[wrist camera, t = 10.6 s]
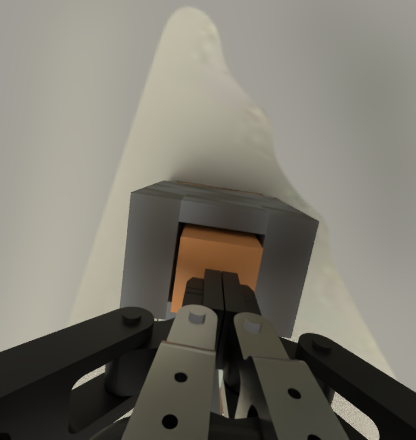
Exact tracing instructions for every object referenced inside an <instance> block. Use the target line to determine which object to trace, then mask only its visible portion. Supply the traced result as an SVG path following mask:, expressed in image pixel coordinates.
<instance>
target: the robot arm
mask: <svg viewBox="0 0 416 440" xmlns="http://www.w3.org/2000/svg"><path fill="white" fill-rule="evenodd" d="M105 364H106V365H105ZM103 365H105V372H104V373H102V374H100V375H99V376H97V377H95V378H93V379H91V380H90V381H88V382H86V383H84V384H82V385H80V386H79V387H77V388H75V389H73V390H72V388H73V386H74V385H75V383H76V382H77V381H78V380H79V379H80V378H81V377H83V376H84V375H86V374H88V373H90V372H92V371H94V370H95V369H97V368H99V367H101V366H103ZM214 366H215V369H219V370H223V377H222V383H221V397H222V405H223V413H224V416H222V415H219V414H216V413H214V412H211V411H210V410H211V399H212V388H213V377H214ZM335 391H336V392H337V393H338V394H340V395H341V396H342V397H344V398H345V399H346V400H347V401H349V402H350V403H351V404H353V405H354V406H355V407H357V408H358V409H359V410H360V411H362V412H363V413H364V414H366V415H367V416H368V417H369V418H371V420H372V421H373V422H374V423H375V425H376V426H377V428H378V431H379V435H380V438H379V440H416V392H414V391H412V390H411V389H409V388H407V387H406V386H404V385H403V384H401V383H400V382H398V381H396V380H395V379H393V378H392V377H390V376H388V375H387V374H385V373H384V372H382V371H380V370H379V369H377V368H375V367H374V366H372V365H371V364H369V363H367V362H366V361H364V360H363V359H361V358H359V357H358V356H356V355H355V354H353V353H351V352H350V351H348V350H347V349H345V348H343V347H342V346H340V345H339V344H337V343H335V342H334V341H332V340H330V339H329V338H327V337H324V336H322V335H318V334H314V333H305V334H302V335H301V336H300V337H299V341H298V343H295V342H292V341H289V340H287V339H284V338H281V337H279V336H278V334H277V332H276V330H275V328H274V326H273V325H272V323H271V322H270V321H269V320H268V319H266V318H264V317H263V316H262V315H261V312H260V308H259V305H258V304H257V299H256V296H255V293H254V291H253V290H252V289H251V288H250V287H249V286H248V285H243V284H240V282H239V278H238V274H237V273H233V272H226V271H222V272H221V271H219V270H213V269H206V268H205V272H204V279H203V278H196V277H192V278H191V279H189V280H188V281H187V283H186V288H185V293H184V298H183V302H182V307H181V308H180V309H179V310H178V312H177V314H176V317H174V318H172V319H169V320H165V321H154V316H153V314H152V313H151V312H150V311H148V310H146V309H144V308H141V307H123V308H120V309H117V310H114V311H111V312H109V313H106V314H103V315H100V316H98V317H95V318H92V319H89V320H87V321H84V322H81V323H78V324H76V325H73V326H70V327H68V328H65V329H62V330H59V331H57V332H54V333H51V334H49V335H46V336H43V337H40V338H37V339H35V340H32V341H29V342H26V343H24V344H21V345H18V346H16V347H13V348H10V349H8V350H5V351H2V352H0V440H368V439H366V438H365V437H364V436H363V435H362V434H360V433H359V432H358V431H357V430H356V429H354V428H353V427H352V426H351V425H350V424H348V423H347V422H346V421H345V420H343V419H342V418H341V417H340V416H339V415H337V414H336V413H335V412H334V411H333V410H332V408H331V404H332V400H333V397H334V394H335ZM133 408H134V410H133V412H132V414H131V416H129V417H126V418H123V419H121V420H119V421H116V420H118V419H119V418H120V417H122V416H123V415H125V414H126V413H127V412H129V411H130V410H131V409H133ZM115 421H116V422H115ZM113 422H114V423H113Z"/></svg>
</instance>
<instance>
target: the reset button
mask: <svg viewBox="0 0 416 440" xmlns="http://www.w3.org/2000/svg"><path fill="white" fill-rule="evenodd" d="M262 253H263V248H262V246H261V244H260V243H259V241H258V239H257V238H256V236H255V234H254V233H248V232H241V231H235V230H228V229H222V228H215V227H208V226H202V225H195V224H189V223H186V225H185V228H184V230H183V233H182V235H181V239H180V246H179V253H178V261H177V268H176V275H175V282H174V289H173V297H172V304H171V311H170V312H174V313H177V312H178V310H179V309H180V308H181V307H182V302H183V298H184V293H185V288H186V283H187V281H188V280H189V279H191V278H192V277H196V278H203V279H204V272H205V268H206V269H213V270H219V271H221V272H222V271H226V272H233V273H237V274H238V278H239V282H240V284H243V285H248V286H249V287H250V288H251V289H252V290H253V291H254V292H255V287H256V282H257V278H258V273H259V268H260V263H261V258H262Z"/></svg>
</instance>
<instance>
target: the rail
mask: <svg viewBox="0 0 416 440" xmlns="http://www.w3.org/2000/svg"><path fill="white" fill-rule="evenodd" d="M186 223H189V224H195V225H202V226H208V227H215V228H222V229H228V230H235V231H241V232H248V233H254V234H255V236H256V238H257V239H258V241H259V243H260V244H261V246H262V248H263V253H262V258H261V263H260V268H259V273H258V278H257V282H256V287H255V292H254V293H255V296H256V299H257V304H258V305H259V308H260V312H261V315H262V316H263V317H264V318H266V319H268V320H269V321H270V322H271V323H272V325H273V326H274V328H275V330H276V332H277V334H278V336H280V337H286V338H291V336H292V332H293V327H294V323H295V319H296V315H297V311H298V307H299V303H300V298H301V294H302V290H303V286H304V282H305V278H306V274H307V269H308V265H309V261H310V257H311V253H312V249H313V245H314V240H315V236H316V232H317V228H318V224H319V221H317V220H316V219H314V218H312V217H310V216H308V215H306V214H304V213H303V212H301V211H299V210H297V209H295V208H293V207H292V206H290V205H288V204H286V203H284V202H282V201H280V200H279V199H277V198H273V197H266V196H263V195H262V194H256V193H249V192H243V191H237V190H230V189H224V188H217V187H211V186H204V185H198V184H192V183H185V182H179V181H177V182H170V181H161V182H158V183H156V184H153V185H150V186H147V187H145V188H142V189H139V190H136V191H134V192H131V198H130V208H129V219H128V229H127V239H126V250H125V260H124V270H123V281H122V291H121V301H120V308H123V307H141V308H144V309H146V310H148V311H150V312H151V313H152V314H153V316H154V318H156V319H157V321H158V320H159V319H163V320H169V319H172V318H174V317H176V314H177V313H174V312H170V311H171V304H172V297H173V289H174V282H175V275H176V268H177V261H178V253H179V246H180V239H181V235H182V233H183V230H184V228H185V225H186ZM219 395H220V415H222V411H223V405H222V397H221V387H219Z"/></svg>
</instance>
